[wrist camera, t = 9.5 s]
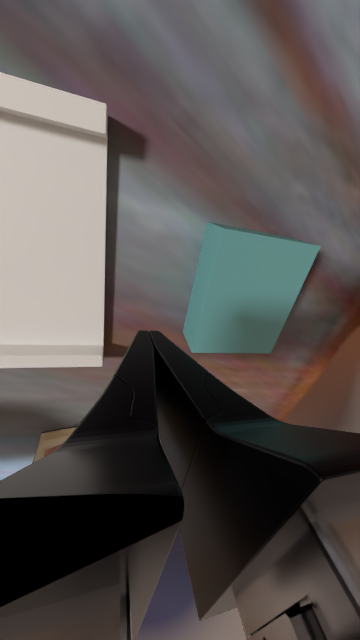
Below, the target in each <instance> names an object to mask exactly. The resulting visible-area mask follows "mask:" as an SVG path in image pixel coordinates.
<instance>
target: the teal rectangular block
mask: <svg viewBox="0 0 360 640" xmlns="http://www.w3.org/2000/svg"><path fill="white" fill-rule="evenodd" d="M320 247H321V246H318V245H315V244H312V243H308V242H305V241H301V240H298V239H294V238H290V237H285V236H280V235H274V234H269V233H264V232H259V231H253V230H248V229H243V228H237V227H232V226H227V225H222V224H216V223H211V222H207V226H206V231H205V235H204V240H203V244H202V249H201V253H200V257H199V262H198V266H197V271H196V275H195V280H194V284H193V289H192V293H191V298H190V302H189V307H188V311H187V316H186V320H185V324H184V329H183V334H184V336H185V338H186V341H187V343H188V345H189V347H190V350H191V352H192V353H271V352H272V350H273V348H274V346H275V343H276V341H277V339H278V337H279V335H280V333H281V331H282V328H283V326H284V324H285V322H286V320H287V318H288V316H289V313H290V311H291V309H292V307H293V305H294V303H295V300H296V298H297V296H298V294H299V292H300V290H301V288H302V285H303V283H304V281H305V279H306V277H307V275H308V273H309V270H310V268H311V266H312V264H313V262H314V260H315V258H316V255H317V253H318V251H319V249H320Z"/></svg>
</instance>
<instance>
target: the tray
mask: <svg viewBox="0 0 360 640" xmlns="http://www.w3.org/2000/svg"><path fill="white" fill-rule="evenodd" d="M107 146H108V111H107V105H106V104H105V103H101V102H98V101H95V100H91V99H88V98H85V97H81V96H78V95H75V94H71V93H68V92H64V91H61V90H58V89H54V88H51V87H48V86H44V85H41V84H38V83H34V82H31V81H28V80H24V79H21V78H18V77H14V76H11V75H8V74H4V73H1V72H0V368H38V367H99V366H102V363H103V353H104V303H105V250H106V198H107Z"/></svg>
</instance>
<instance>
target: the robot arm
mask: <svg viewBox="0 0 360 640" xmlns="http://www.w3.org/2000/svg"><path fill="white" fill-rule="evenodd" d="M158 430H159V433H158ZM159 435H160V439H161V444H162V446H161V444H160V440H159ZM178 529H180V533H181V538H182V542H183V547H184V552H185V557H186V561H187V566H188V571H189V575H190V580H191V585H192V589H193V594H194V598H195V603H196V608H197V612H198V617H199V620H200V621H202V620H205V619H208V618H210V617H213V616H215V615H218V614H221V613H224V612H226V611H229V610H231V609H234V608H238V611H239V615H240V618H241V622H242V625H243V629H244V632H245V636H246V639H247V640H360V434H359V433H352V432H344V431H337V430H329V429H322V428H314V427H306V426H299V425H292V424H288V423H284V422H281V421H279V420H277V419H275V418H273V417H271V416H270V415H268V414H266V413H265V412H264V411H262V410H261V409H259V408H258V407H256V406H255V405H253V404H252V403H250V402H249V401H247V400H246V399H244V398H243V397H242V396H240V395H239V394H237V393H236V392H234V391H233V390H232V389H230V388H229V387H227V386H226V385H225V384H223V383H222V382H221V381H220V380H218V379H217V378H216V377H214V376H213V375H212V374H211V373H209V372H208V371H207V370H206V369H205V368H203V367H202V366H201V365H200V364H198V363H197V362H196V361H195V360H194V359H192V358H191V357H190V356H189V355H187V354H186V353H185V352H184V351H183V350H181V349H180V348H179V347H178V346H176V345H175V344H174V343H173V342H171V341H170V340H169V339H168V338H167V337H165V336H164V335H163V334H162V333H160V332H159V331H149V332H148V331H142V330H139V331H138V332H137V334H136V336H135V338H134V339H133V341H132V343H131V345H130V347H129V348H128V350H127V352H126V354H125V356H124V357H123V359H122V361H121V363H120V365H119V366H118V368H117V370H116V372H115V374H114V376H113V377H112V379H111V381H110V382H109V384H108V386H107V387H106V389H105V390H104V392H103V394H102V395H101V396H100V398H99V399H98V400H97V402H96V403H95V404H94V406H93V407H92V408H91V410H90V411H89V412H88V413H87V415H86V416H85V417H84V418H83V420H82V421H81V422H80V423H79V425H78V426H77V427H76V429H75V430H74V431H73V432H72V434H71V435H70V436H69V437H68V438H67V440H66V441H65V442H64V443H63V444H62V445H61V446H60V447H59V448H58V449H56V450H55V451H54V452H52V453H51V454H49V455H47V456H45V457H44V458H42V459H40V460H38V461H36V462H34V463H32V464H31V465H29V466H27V467H25V468H23V469H21V470H20V471H18V472H16V473H14V474H12V475H10V476H9V477H7V478H5V479H3V480H1V481H0V640H135V638H136V636H137V633H138V631H139V628H140V626H141V623H142V621H143V618H144V616H145V613H146V610H147V608H148V605H149V603H150V600H151V598H152V595H153V593H154V590H155V588H156V585H157V582H158V580H159V577H160V575H161V572H162V570H163V567H164V565H165V562H166V560H167V557H168V554H169V552H170V549H171V547H172V544H173V542H174V539H175V537H176V534H177V532H178Z"/></svg>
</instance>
